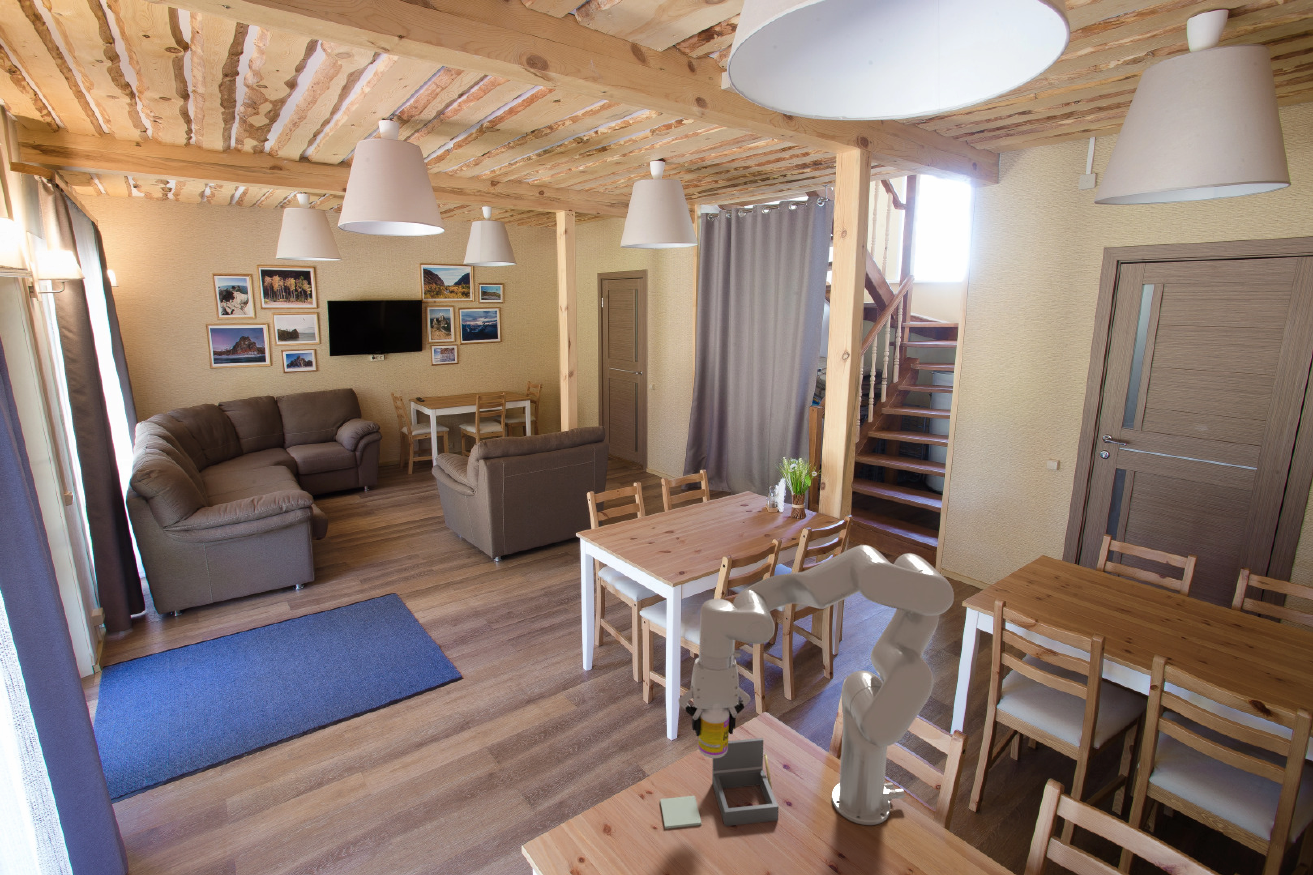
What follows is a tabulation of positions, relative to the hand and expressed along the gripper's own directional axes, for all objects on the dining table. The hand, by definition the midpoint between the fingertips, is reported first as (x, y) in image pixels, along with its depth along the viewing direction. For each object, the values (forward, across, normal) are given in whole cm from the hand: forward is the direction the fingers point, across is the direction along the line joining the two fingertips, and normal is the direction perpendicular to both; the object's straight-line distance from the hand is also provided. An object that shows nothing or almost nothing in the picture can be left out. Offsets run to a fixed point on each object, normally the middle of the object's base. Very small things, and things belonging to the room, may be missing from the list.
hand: (713, 730), depth 140 cm
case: (+19, -8, 0) cm, 21 cm away
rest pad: (+20, +7, +1) cm, 21 cm away
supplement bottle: (+5, 0, 0) cm, 5 cm away
